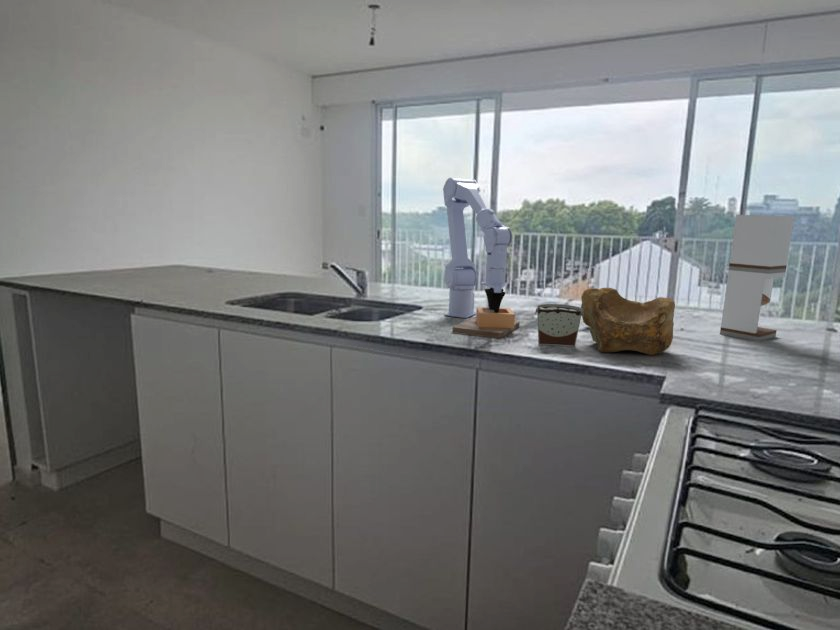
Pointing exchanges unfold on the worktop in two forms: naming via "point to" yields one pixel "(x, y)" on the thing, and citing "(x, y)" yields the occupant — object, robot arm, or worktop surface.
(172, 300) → the worktop surface
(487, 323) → the shallow wooden tray
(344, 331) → the worktop surface
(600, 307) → the rough brown rock
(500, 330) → the post base
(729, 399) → the worktop surface
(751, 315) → the white stacked pedestal
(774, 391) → the worktop surface
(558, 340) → the food container
